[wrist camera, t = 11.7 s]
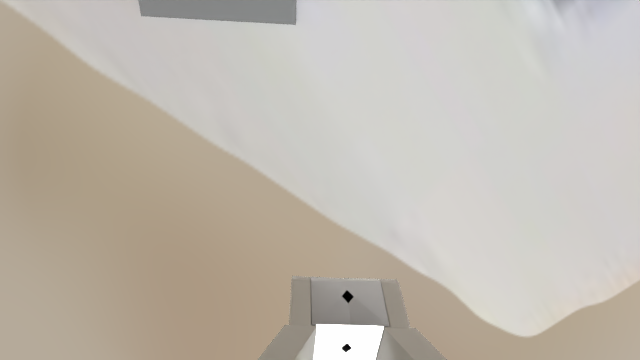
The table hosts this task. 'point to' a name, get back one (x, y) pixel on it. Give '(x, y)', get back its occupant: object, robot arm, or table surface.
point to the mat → (223, 10)
